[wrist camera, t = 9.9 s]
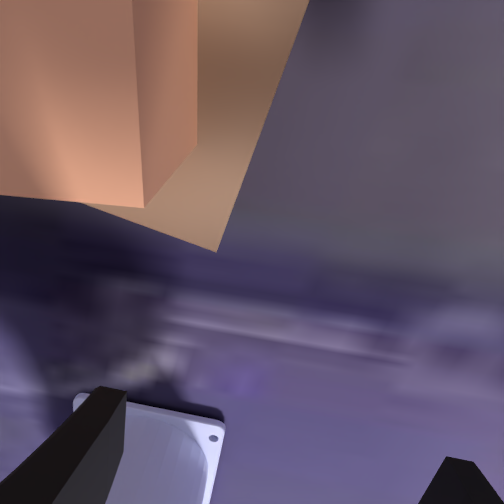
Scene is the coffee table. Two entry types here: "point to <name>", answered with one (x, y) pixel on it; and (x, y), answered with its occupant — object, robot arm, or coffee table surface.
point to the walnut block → (223, 115)
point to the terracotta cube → (96, 97)
